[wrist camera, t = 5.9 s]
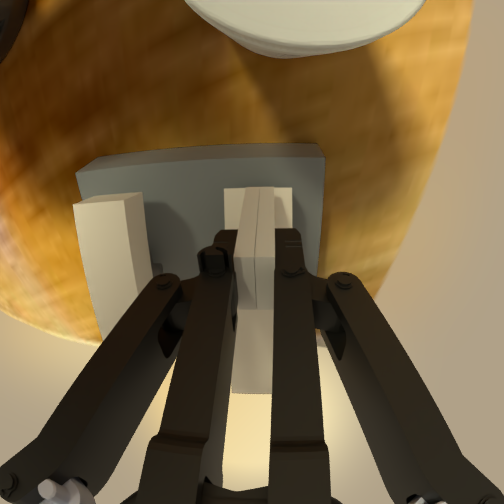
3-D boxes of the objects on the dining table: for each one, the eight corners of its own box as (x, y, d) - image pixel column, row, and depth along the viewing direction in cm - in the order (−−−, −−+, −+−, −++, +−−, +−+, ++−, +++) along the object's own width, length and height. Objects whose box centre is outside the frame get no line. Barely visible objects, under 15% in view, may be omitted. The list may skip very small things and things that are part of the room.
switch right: (236, 371, 24) (231, 393, 21) (230, 189, 21) (223, 188, 18) (286, 372, 24) (288, 393, 21) (289, 188, 21) (291, 187, 18)
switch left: (126, 353, 25) (114, 374, 23) (94, 195, 21) (72, 204, 18) (168, 357, 25) (158, 380, 22) (142, 191, 21) (123, 200, 18)
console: (135, 296, 34) (116, 339, 28) (97, 157, 25) (58, 185, 19) (307, 299, 33) (312, 347, 27) (317, 143, 24) (332, 170, 18)
